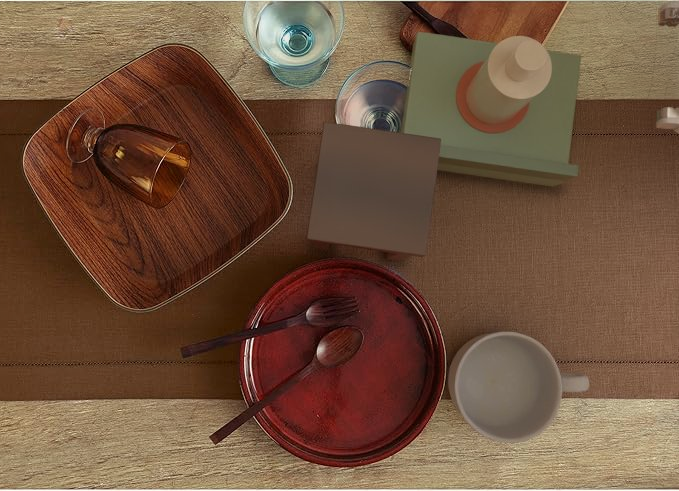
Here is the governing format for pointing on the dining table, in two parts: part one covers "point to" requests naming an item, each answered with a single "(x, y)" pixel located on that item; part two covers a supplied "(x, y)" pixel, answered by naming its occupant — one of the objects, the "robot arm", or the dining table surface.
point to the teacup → (509, 386)
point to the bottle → (508, 79)
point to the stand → (374, 190)
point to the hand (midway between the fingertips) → (660, 65)
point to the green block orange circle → (483, 138)
